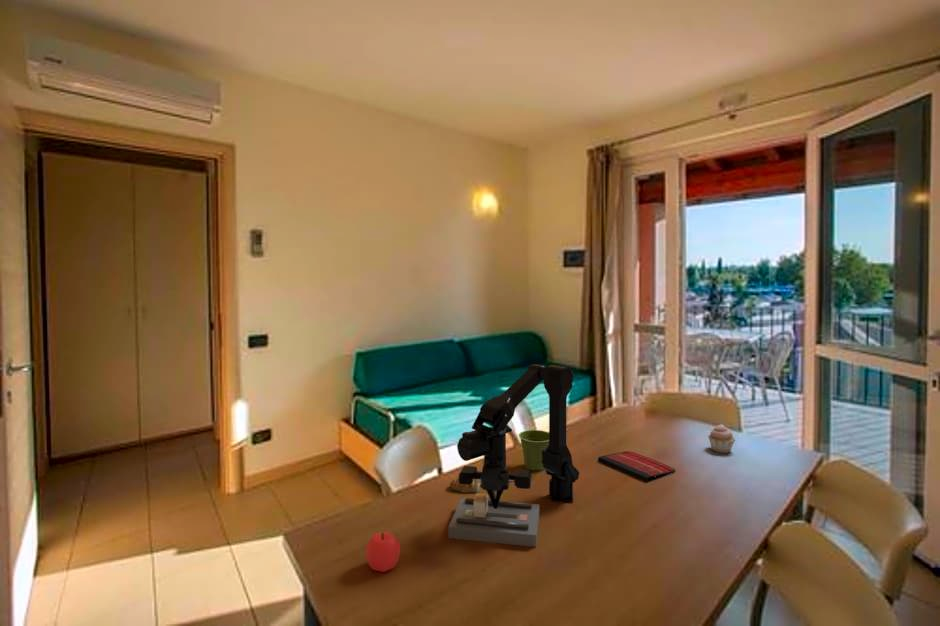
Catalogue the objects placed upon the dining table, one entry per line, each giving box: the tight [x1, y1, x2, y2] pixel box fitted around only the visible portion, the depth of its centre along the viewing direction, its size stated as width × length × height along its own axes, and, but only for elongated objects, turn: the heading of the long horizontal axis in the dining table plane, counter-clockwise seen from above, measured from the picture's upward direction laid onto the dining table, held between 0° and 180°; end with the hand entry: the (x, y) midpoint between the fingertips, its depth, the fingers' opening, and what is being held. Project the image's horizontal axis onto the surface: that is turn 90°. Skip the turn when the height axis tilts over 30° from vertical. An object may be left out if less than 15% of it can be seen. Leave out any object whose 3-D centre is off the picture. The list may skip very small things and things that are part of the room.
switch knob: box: [473, 492, 489, 518], centre depth 129 cm, size 3×5×4 cm, turn 169°
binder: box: [597, 450, 676, 483], centre depth 168 cm, size 16×2×21 cm
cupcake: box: [707, 423, 736, 454], centre depth 181 cm, size 9×9×10 cm
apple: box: [365, 531, 401, 573], centre depth 112 cm, size 8×8×8 cm
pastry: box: [449, 477, 481, 493], centre depth 152 cm, size 9×7×4 cm
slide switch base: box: [447, 497, 541, 548], centre depth 129 cm, size 22×16×4 cm
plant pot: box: [518, 429, 549, 472], centre depth 167 cm, size 12×12×11 cm
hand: (495, 508), depth 129 cm, fingers closed
